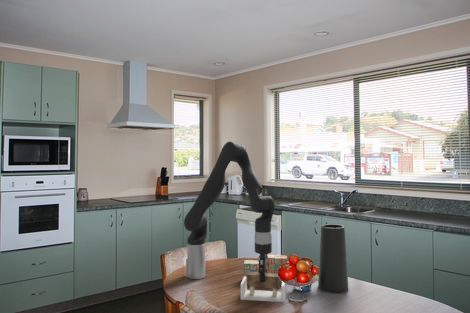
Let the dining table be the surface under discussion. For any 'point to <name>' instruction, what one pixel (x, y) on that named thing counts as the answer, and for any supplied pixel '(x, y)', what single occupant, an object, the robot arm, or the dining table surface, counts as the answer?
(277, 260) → the stack of blocks
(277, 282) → the plank
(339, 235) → the vase
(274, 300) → the peg stand
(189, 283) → the dining table surface
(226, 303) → the dining table surface
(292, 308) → the dining table surface
